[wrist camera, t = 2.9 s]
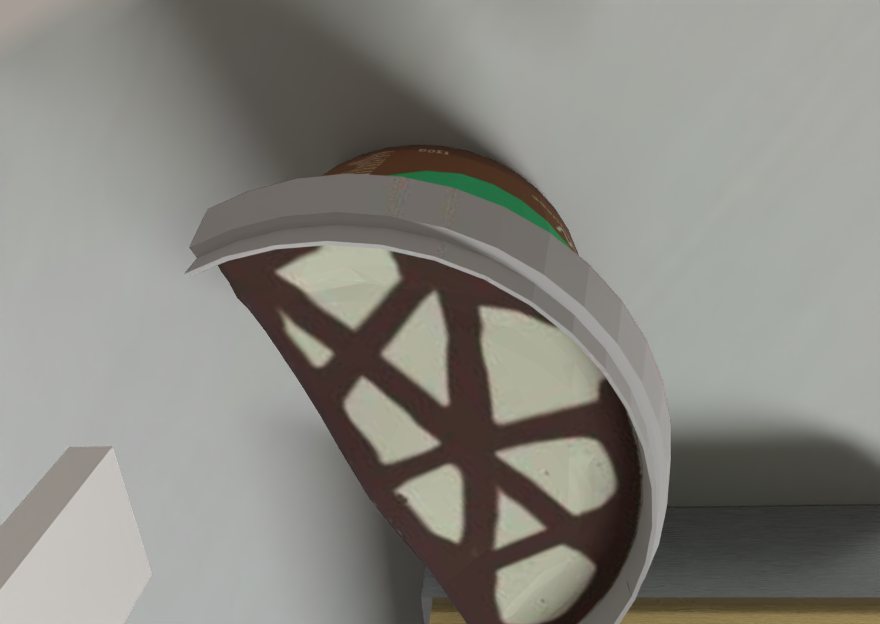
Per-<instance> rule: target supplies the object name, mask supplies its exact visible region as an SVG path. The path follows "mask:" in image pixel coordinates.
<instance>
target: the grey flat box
mask: <svg viewBox="0 0 880 624" xmlns="http://www.w3.org/2000/svg"><path fill="white" fill-rule="evenodd" d="M421 604H422V612H423V620H424V624H467V623H466V622H465V620H464V619H463V617H462V616H461V614H460V613H459V612H458V610H457V609H456V607H455V606H454V604H453V603H452V602H451V600H450V599H449V597H448V596H447V594H446V593H445V592H444V590H443V589H442V587H441V586H440V584H439V583H438V581H437V580H436V579H435V577H434V576H433V575H432V573H431V572H430V571H429V570H428V568H427V567H426V566H425V572H424V579H423V586H422V592H421ZM620 624H880V505H842V506H763V507H683V508H666V513H665V518H664V523H663V528H662V532H661V537H660V542H659V546H658V548H657V550H656V553H655V555H654V558H653V560H652V562H651V565H650V567H649V569H648V572H647V574H646V577H645V579H644V581H643V582H642V584H641V587H640V589H639V592H638V594H637V597H636V599H635V601H634V602H633V604H632V605H631V607H630V608H629V610H628V611H627V613H626V614H625V616H624V617H623V619H622V620H621V622H620Z"/></svg>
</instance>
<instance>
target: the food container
mask: <svg viewBox="0 0 880 624" xmlns="http://www.w3.org/2000/svg"><path fill="white" fill-rule="evenodd" d="M189 248H190V249H191V250H192V252H193V253H194V254H195V256H196V257H197V259H196V260H195V261H194V262H193V264H192V265H191V266H190V267H189V269H188V270H187V271H186V272H185V275H186V277H187V278H188V277H190V276H193V275H195V274H197V273H200V272H202V271H205V270H207V269H209V268H212V267H214V266H217V265H218V267H219V268H220V270H221V271H222V273H223V274H224V276H225V277H226V279H227V280H228V281H229V283H230V285H231V287H232V289H233V290H234V292H235V294H236V296H237V298H238V299H239V300H240V301H241V302H242V303H243V304H244V305H245V306H246V307H247V308H248V309H249V310H250V312H251V313H252V314H253V315H254V317H255V318H256V319H257V321H258V322H259V323H260V325H261V326H262V327H263V329H264V330H265V331H266V333H267V334H268V336H269V337H270V339H271V340H272V342H273V343H274V345H275V346H276V347H277V349H278V350H279V352H280V353H281V355H282V356H283V358H284V359H285V361H286V362H287V364H288V365H289V367H290V368H291V370H292V371H293V373H294V374H295V376H296V377H297V379H298V380H299V382H300V383H301V385H302V387H303V388H304V390H305V392H306V393H307V395H308V396H309V398H310V400H311V401H312V403H313V404H314V406H315V408H316V409H317V411H318V412H319V414H320V416H321V417H322V419H323V421H324V422H325V424H326V426H327V428H328V429H329V431H330V433H331V435H332V436H333V438H334V440H335V442H336V443H337V445H338V447H339V449H340V450H341V452H342V454H343V455H344V457H345V459H346V460H347V462H348V464H349V465H350V467H351V469H352V470H353V472H354V473H355V475H356V477H357V478H358V480H359V482H360V483H361V485H362V486H363V488H364V490H365V492H366V493H367V495H368V496H369V498H370V499H371V501H372V502H373V503H374V504H375V505H376V507H377V508H378V509H379V511H380V512H381V513H382V514H383V516H384V517H385V518H386V519H387V521H388V522H389V523H390V524H391V526H392V527H393V528H394V529H395V530H396V532H397V533H398V534H399V535H400V536H401V537H402V538H403V540H404V541H405V542H406V543H407V544H408V545H409V546H410V548H411V549H412V550H413V551H414V552H415V553H416V555H417V556H418V557H419V558H420V560H421V561H422V562H423V563H424V565H425V566H426V567H427V568H428V570H429V571H430V572H431V573H432V575H433V576H434V577H435V579H436V580H437V581H438V583H439V584H440V586H441V587H442V589H443V590H444V592H445V593H446V594H447V596H448V597H449V599H450V600H451V602H452V603H453V604H454V606H455V607H456V609H457V610H458V612H459V613H460V614H461V616H462V617H463V619H464V620H465V622H466V623H467V624H620V622H621V620H622V619H623V617H624V616H625V614H626V613H627V611H628V610H629V608H630V607H631V605H632V604H633V602H634V601H635V599H636V597H637V594H638V592H639V589H640V587H641V584H642V582H643V581H644V579H645V577H646V574H647V572H648V569H649V567H650V565H651V562H652V560H653V558H654V555H655V553H656V550H657V548H658V546H659V542H660V537H661V532H662V528H663V523H664V518H665V513H666V508H667V499H668V487H669V475H670V464H671V421H670V416H669V410H668V405H667V400H666V395H665V390H664V384H663V380H662V378H661V375H660V372H659V370H658V367H657V365H656V362H655V360H654V357H653V355H652V352H651V350H650V347H649V345H648V342H647V340H646V338H645V337H644V335H643V333H642V332H641V330H640V329H639V327H638V325H637V324H636V322H635V321H634V319H633V317H632V316H631V314H630V313H629V311H628V309H627V308H626V306H625V305H624V303H623V301H622V300H621V299H620V298H619V297H618V296H617V295H616V293H615V292H614V291H613V290H612V289H611V288H610V287H609V286H608V285H607V283H606V282H605V281H604V280H603V279H602V278H601V277H600V276H599V275H598V273H597V272H596V271H595V270H594V269H593V268H592V267H591V266H590V265H589V264H588V263H587V262H586V261H584V260H583V259H582V258H581V257H579V255H578V252H577V250H576V247H575V245H574V242H573V240H572V238H571V235H570V233H569V230H568V228H567V227H566V225H565V224H564V222H563V221H562V219H561V217H560V216H559V214H558V213H557V211H556V209H555V208H554V207H553V206H552V205H551V204H550V203H549V202H548V200H547V199H546V198H545V197H544V196H543V195H542V194H541V193H540V192H539V190H537V189H536V188H535V187H534V186H532V185H531V184H530V183H529V182H527V181H526V180H525V179H524V178H522V177H521V176H520V175H519V174H517V173H515V172H514V171H512V170H510V169H508V168H506V167H505V166H503V165H501V164H499V163H498V162H496V161H494V160H491V159H488V158H486V157H483V156H480V155H477V154H475V153H472V152H469V151H464V150H459V149H454V148H449V147H444V146H429V145H409V146H400V147H391V148H385V149H382V150H378V151H374V152H371V153H367V154H363V155H360V156H358V157H356V158H354V159H352V160H349V161H347V162H345V163H343V164H341V165H338V166H336V167H334V168H333V169H331V170H330V171H328V172H327V173H325V174H324V175H322V176H318V177H307V178H297V179H293V180H289V181H285V182H281V183H278V184H274V185H270V186H266V187H262V188H259V189H255V190H251V191H247V192H245V193H243V194H241V195H238V196H236V197H234V198H232V199H229V200H227V201H225V202H223V203H220V204H218V205H216V206H214V207H211V208H209V209H208V210H207V212H206V214H205V216H204V218H203V220H202V222H201V224H200V226H199V228H198V230H197V232H196V234H195V236H194V238H193V241H192V243H191V245H190V247H189Z"/></svg>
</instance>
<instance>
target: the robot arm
mask: <svg viewBox="0 0 880 624" xmlns="http://www.w3.org/2000/svg"><path fill="white" fill-rule="evenodd" d="M151 575H152V572H151V569H150V566H149V563H148V559H147V556H146V553H145V550H144V546H143V543H142V540H141V537H140V534H139V530H138V527H137V524H136V521H135V517H134V514H133V511H132V508H131V504H130V501H129V498H128V495H127V491H126V488H125V485H124V482H123V479H122V475H121V472H120V469H119V466H118V462H117V459H116V456H115V453H114V449H113V446H112V447H69V448H68V449H67V450H66V451H65V453H64V454H63V455H62V456H61V457H60V458H59V460H58V461H57V462H56V463H55V464H54V465H53V466H52V468H51V469H50V470H49V471H48V472H47V473H46V475H45V476H44V477H43V478H42V479H41V480H40V482H39V483H38V484H37V485H36V486H35V487H34V488H33V490H32V491H31V492H30V493H29V494H28V495H27V497H26V498H25V499H24V500H23V501H22V502H21V503H20V505H19V506H18V507H17V508H16V509H15V510H14V512H13V513H12V514H11V515H10V516H9V517H8V518H7V520H6V521H5V522H4V523H3V524H2V525H1V527H0V624H124V622H125V621H126V619H127V617H128V615H129V614H130V612H131V610H132V608H133V607H134V605H135V603H136V601H137V600H138V598H139V596H140V594H141V593H142V591H143V589H144V587H145V586H146V584H147V582H148V580H149V579H150V577H151Z"/></svg>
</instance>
